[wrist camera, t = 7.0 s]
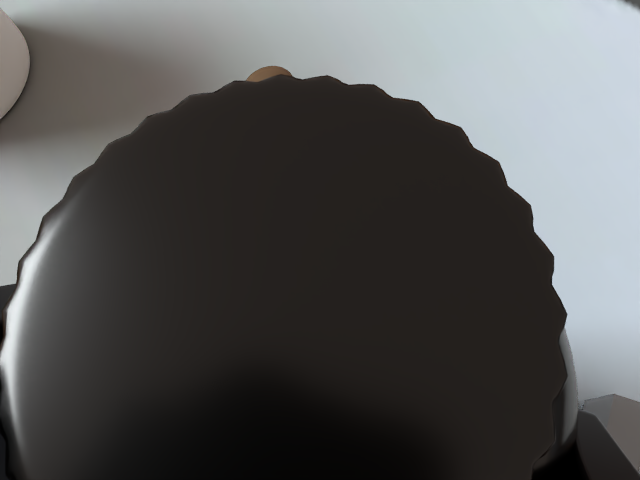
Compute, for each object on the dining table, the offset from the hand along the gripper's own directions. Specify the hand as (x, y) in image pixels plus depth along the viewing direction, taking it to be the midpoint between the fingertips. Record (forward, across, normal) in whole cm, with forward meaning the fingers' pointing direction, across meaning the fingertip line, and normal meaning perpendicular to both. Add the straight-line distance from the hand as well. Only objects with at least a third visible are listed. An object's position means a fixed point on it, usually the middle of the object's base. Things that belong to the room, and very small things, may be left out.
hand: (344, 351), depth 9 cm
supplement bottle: (+5, 0, +6) cm, 7 cm away
